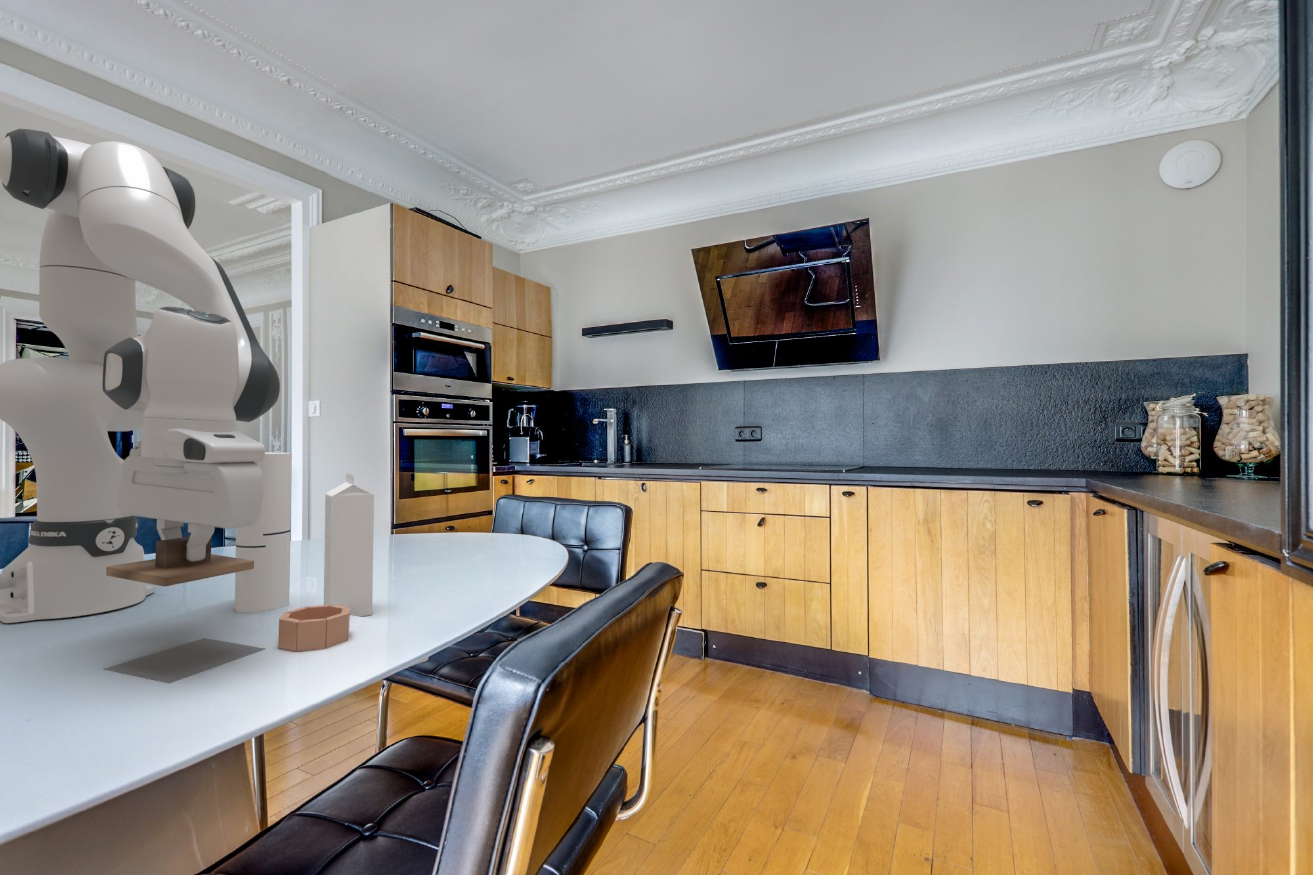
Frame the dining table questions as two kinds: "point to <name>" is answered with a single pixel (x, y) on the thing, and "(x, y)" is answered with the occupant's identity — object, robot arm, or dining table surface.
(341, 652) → the dining table surface
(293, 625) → the bowl
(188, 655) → the mat
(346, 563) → the milk
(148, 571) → the lid
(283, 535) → the cylindrical container
